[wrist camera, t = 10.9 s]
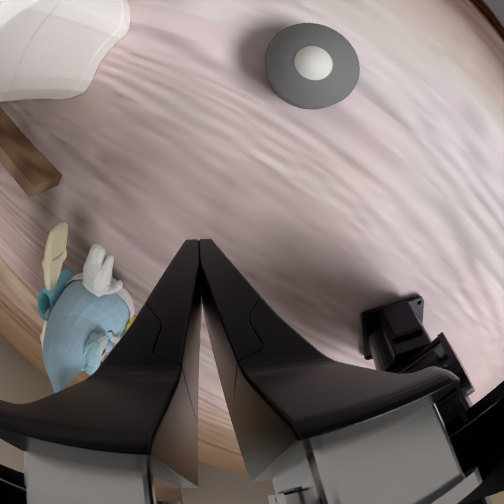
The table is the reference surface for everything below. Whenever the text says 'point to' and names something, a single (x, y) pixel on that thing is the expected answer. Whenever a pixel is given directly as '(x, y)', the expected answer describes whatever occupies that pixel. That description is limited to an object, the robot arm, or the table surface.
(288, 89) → the wheel
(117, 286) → the blue winged piece
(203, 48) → the table surface
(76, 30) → the jar
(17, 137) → the wooden tray
